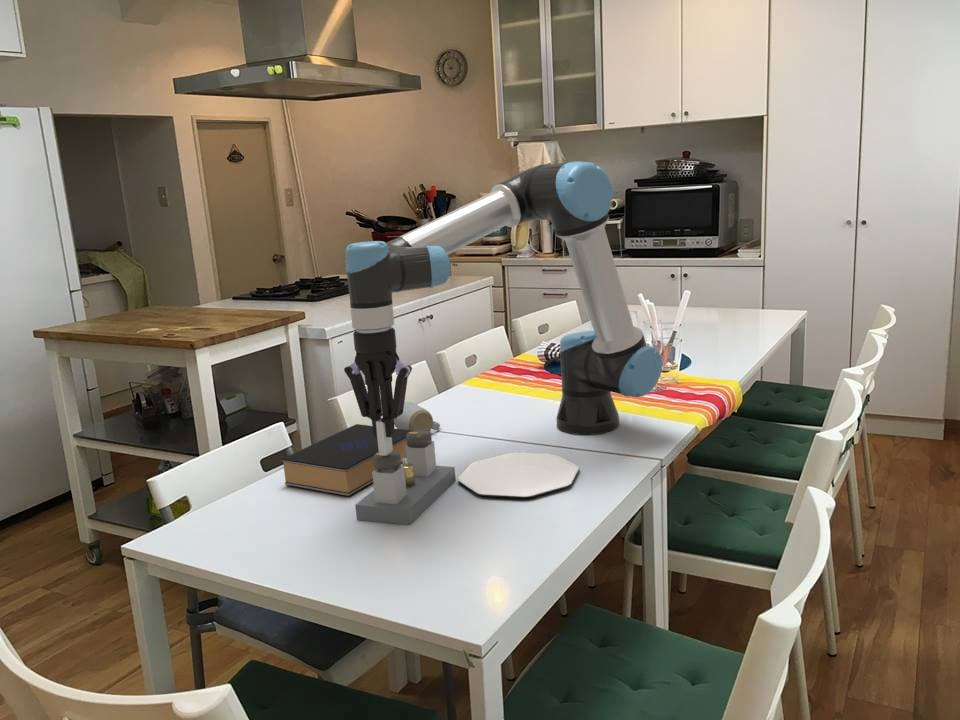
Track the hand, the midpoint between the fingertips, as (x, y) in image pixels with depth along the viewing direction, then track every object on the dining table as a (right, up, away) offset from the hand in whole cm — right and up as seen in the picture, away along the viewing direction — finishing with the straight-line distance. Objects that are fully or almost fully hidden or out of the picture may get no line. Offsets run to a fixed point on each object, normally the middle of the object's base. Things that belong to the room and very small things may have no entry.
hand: (386, 452), depth 151 cm
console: (+3, -10, +9) cm, 14 cm away
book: (-10, -8, +27) cm, 30 cm away
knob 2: (+6, -5, +15) cm, 17 cm away
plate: (+26, -8, +16) cm, 31 cm away
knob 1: (+1, -8, +2) cm, 9 cm away
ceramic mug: (+2, -1, +51) cm, 51 cm away
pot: (+3, -7, +8) cm, 12 cm away
